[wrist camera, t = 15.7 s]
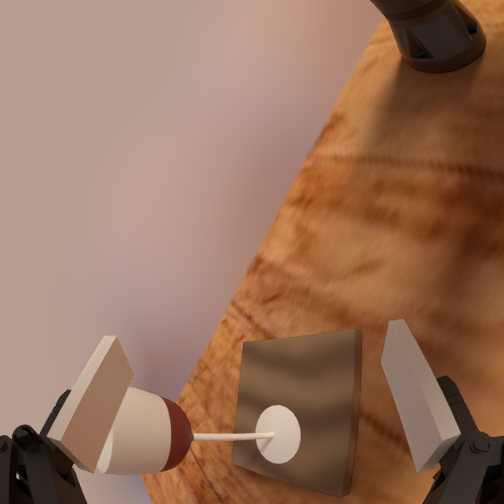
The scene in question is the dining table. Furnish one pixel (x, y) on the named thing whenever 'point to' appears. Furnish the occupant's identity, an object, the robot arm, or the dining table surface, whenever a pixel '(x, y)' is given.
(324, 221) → the dining table surface
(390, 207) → the dining table surface
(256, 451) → the walnut board
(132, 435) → the wineglass
